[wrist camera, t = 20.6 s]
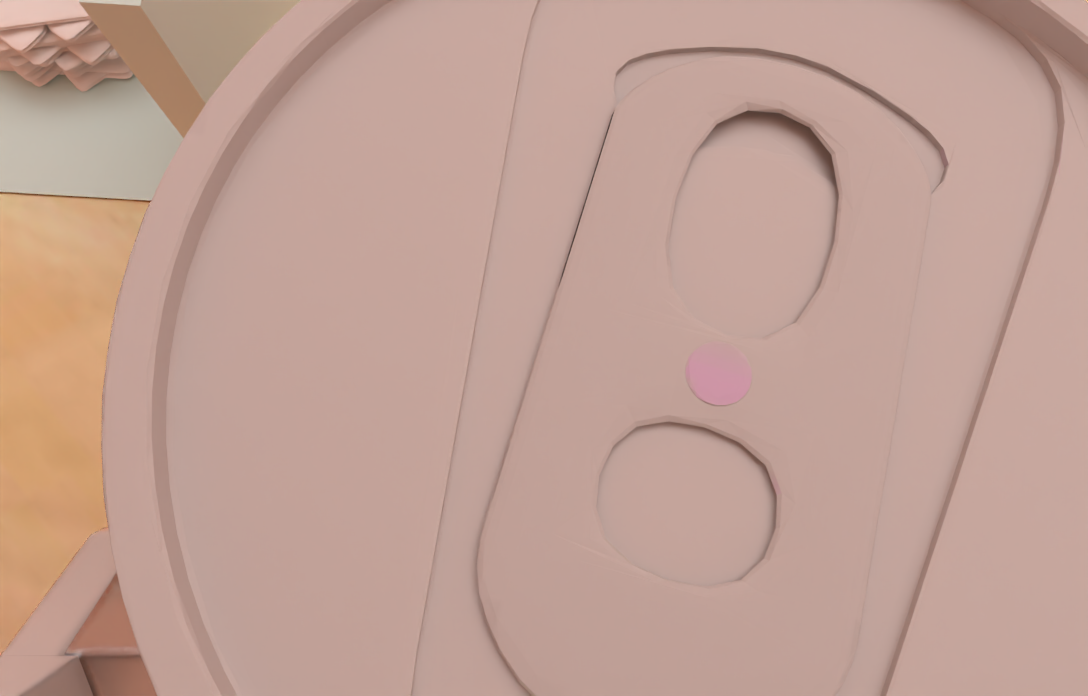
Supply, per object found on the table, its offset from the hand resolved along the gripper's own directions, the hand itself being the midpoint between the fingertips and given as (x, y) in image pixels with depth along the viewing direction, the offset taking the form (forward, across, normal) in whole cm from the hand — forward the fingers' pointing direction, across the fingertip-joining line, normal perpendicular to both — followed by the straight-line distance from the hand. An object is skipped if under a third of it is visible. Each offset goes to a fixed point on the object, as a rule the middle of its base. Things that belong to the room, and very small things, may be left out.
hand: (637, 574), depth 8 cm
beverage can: (+8, 0, +6) cm, 10 cm away
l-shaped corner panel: (+18, +14, -4) cm, 23 cm away
